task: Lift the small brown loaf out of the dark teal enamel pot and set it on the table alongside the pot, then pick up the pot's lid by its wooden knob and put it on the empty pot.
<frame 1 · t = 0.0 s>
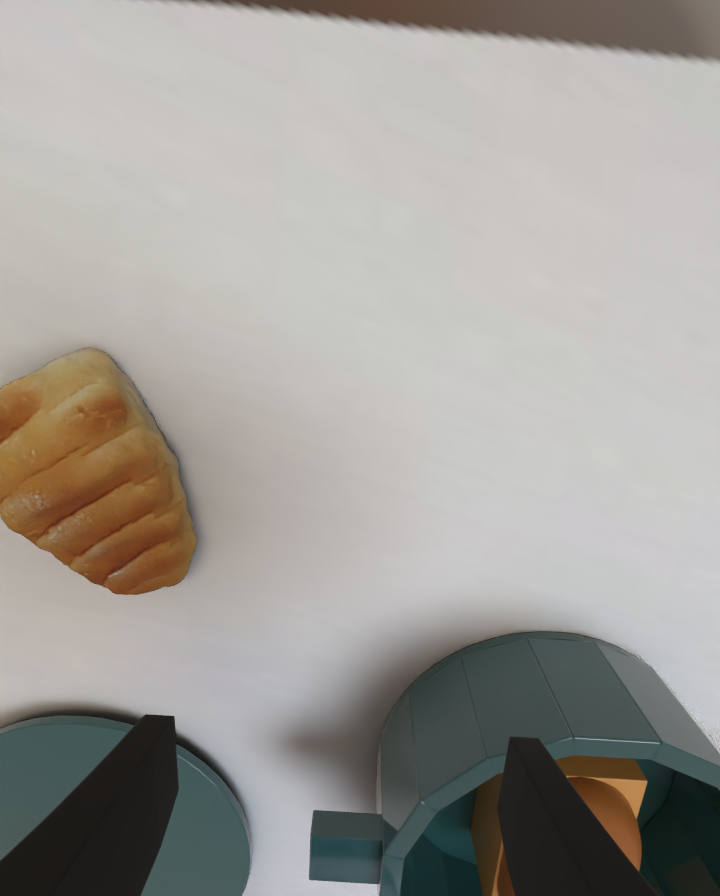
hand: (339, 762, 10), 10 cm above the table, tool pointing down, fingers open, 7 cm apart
lid: (98, 839, 24), point 1 cm above the table
pot: (530, 761, 23), on the table
bread: (533, 771, 23), resting on pot
pastry: (110, 458, 19), on the table
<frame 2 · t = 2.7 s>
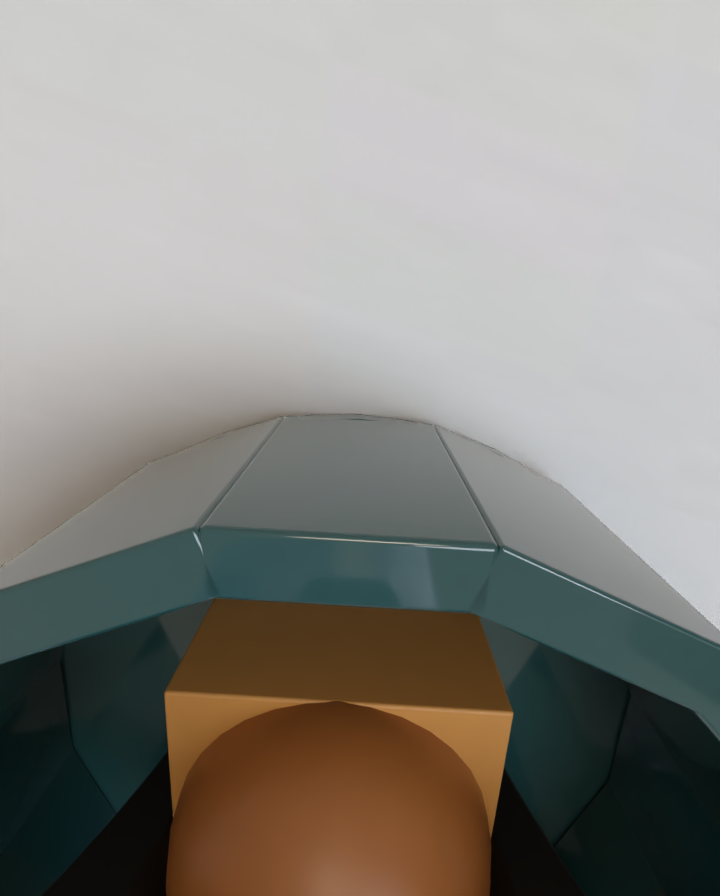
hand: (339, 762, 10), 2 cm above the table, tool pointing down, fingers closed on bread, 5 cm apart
pot: (343, 703, 12), on the table
bread: (340, 720, 11), point 1 cm above the table, touching gripper, pot
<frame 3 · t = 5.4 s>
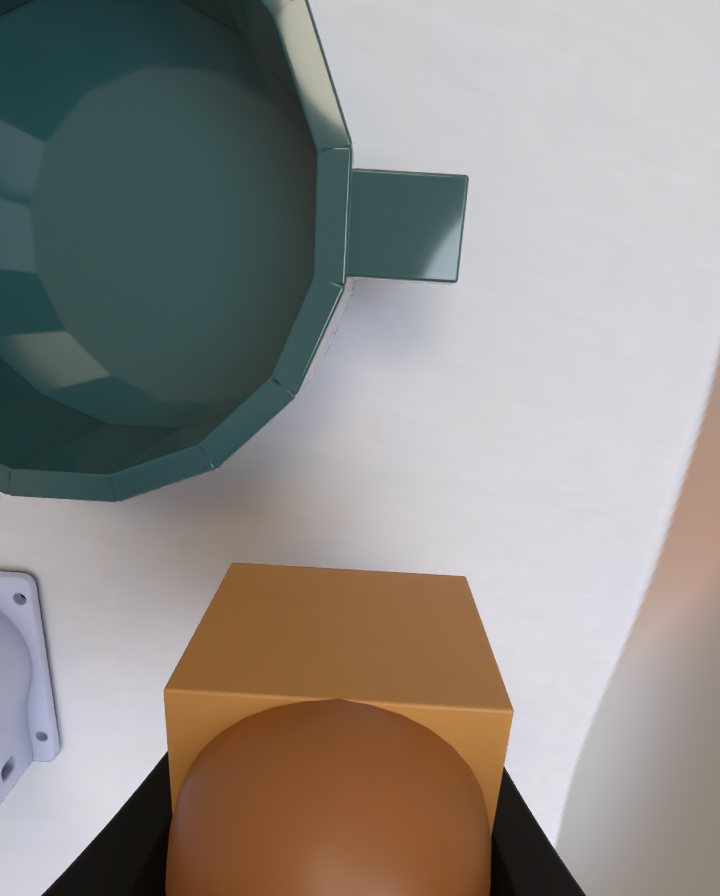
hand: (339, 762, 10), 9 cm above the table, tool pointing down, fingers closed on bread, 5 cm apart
pot: (138, 234, 16), on the table
bread: (340, 719, 11), point 8 cm above the table, touching gripper
when the fingers open (1 cm above the table, at t = 8.0 s): bread stays where it is, on the table.
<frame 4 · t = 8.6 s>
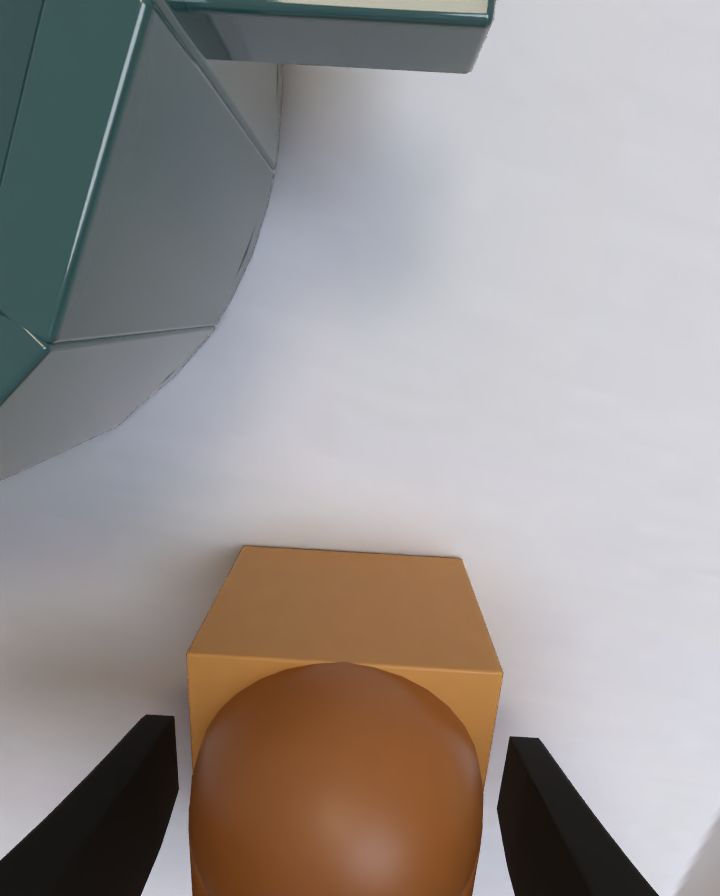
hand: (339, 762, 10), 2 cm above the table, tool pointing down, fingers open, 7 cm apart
bread: (344, 694, 12), on the table
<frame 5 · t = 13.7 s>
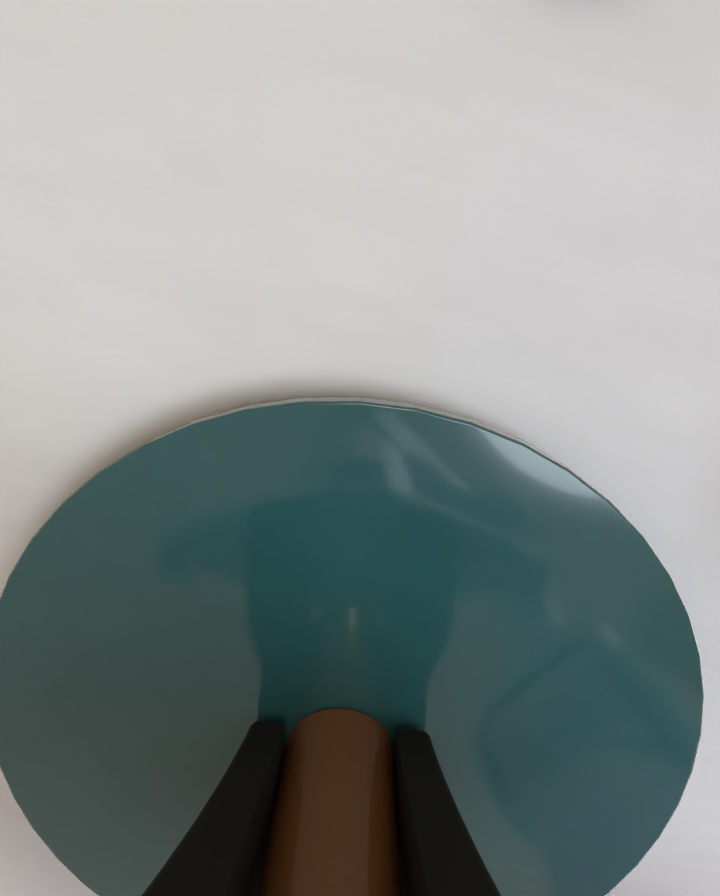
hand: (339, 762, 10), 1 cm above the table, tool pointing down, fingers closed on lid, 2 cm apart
lid: (340, 731, 11), point 1 cm above the table, touching gripper
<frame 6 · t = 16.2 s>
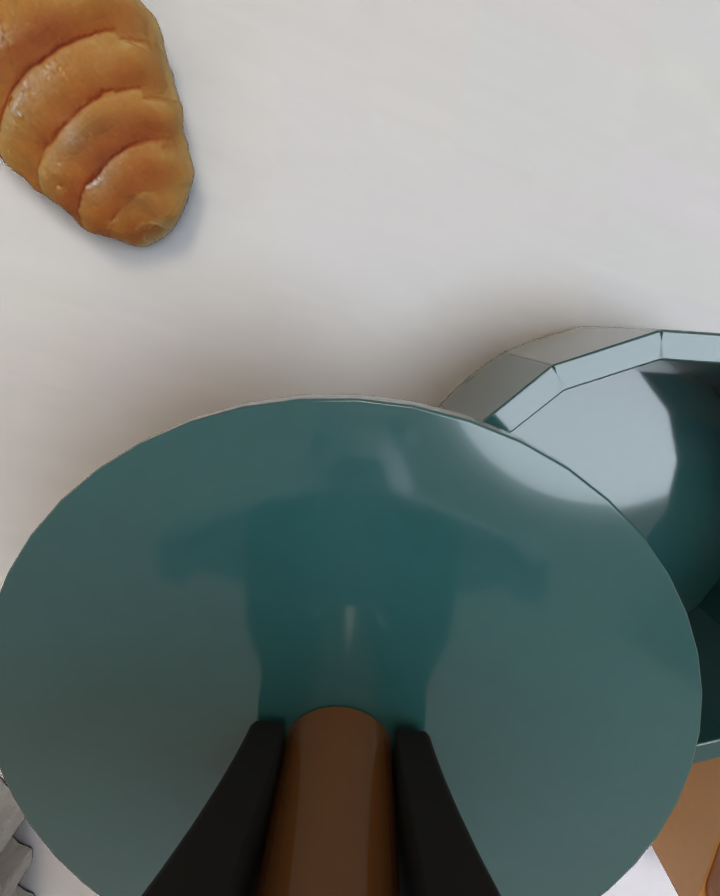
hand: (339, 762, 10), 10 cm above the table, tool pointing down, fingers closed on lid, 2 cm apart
lid: (339, 729, 11), point 10 cm above the table, touching gripper
pot: (577, 511, 20), on the table
bread: (714, 773, 23), on the table
pastry: (92, 87, 16), on the table
when the fingers open (6 cm above the table, at t = 18.5 s): lid stays where it is, resting on pot.
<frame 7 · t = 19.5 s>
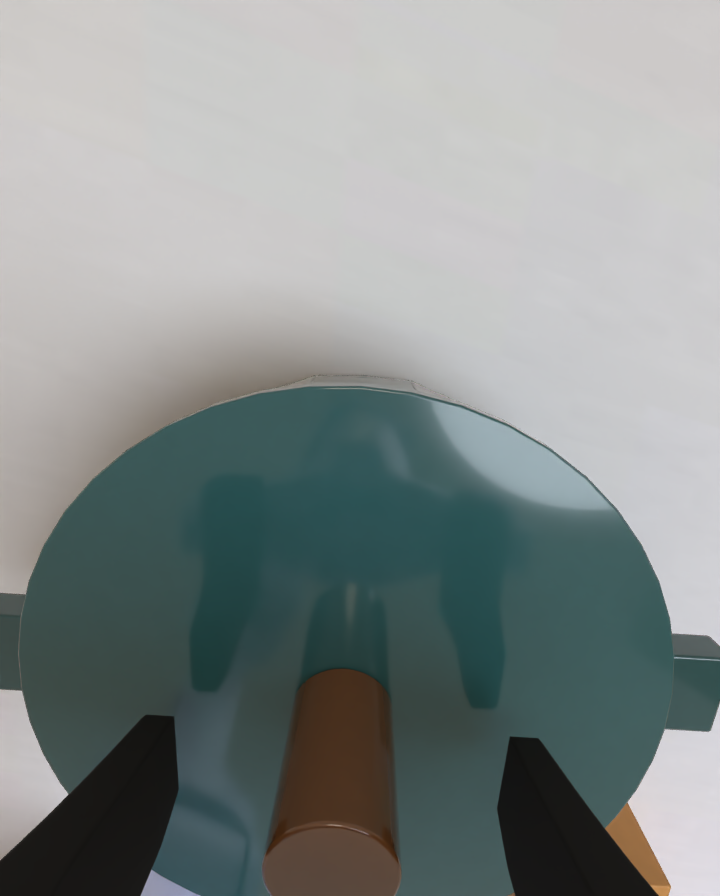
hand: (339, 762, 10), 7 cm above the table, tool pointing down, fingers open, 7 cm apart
lid: (343, 692, 12), point 5 cm above the table, touching pot
pot: (352, 577, 17), on the table
bread: (543, 852, 21), on the table
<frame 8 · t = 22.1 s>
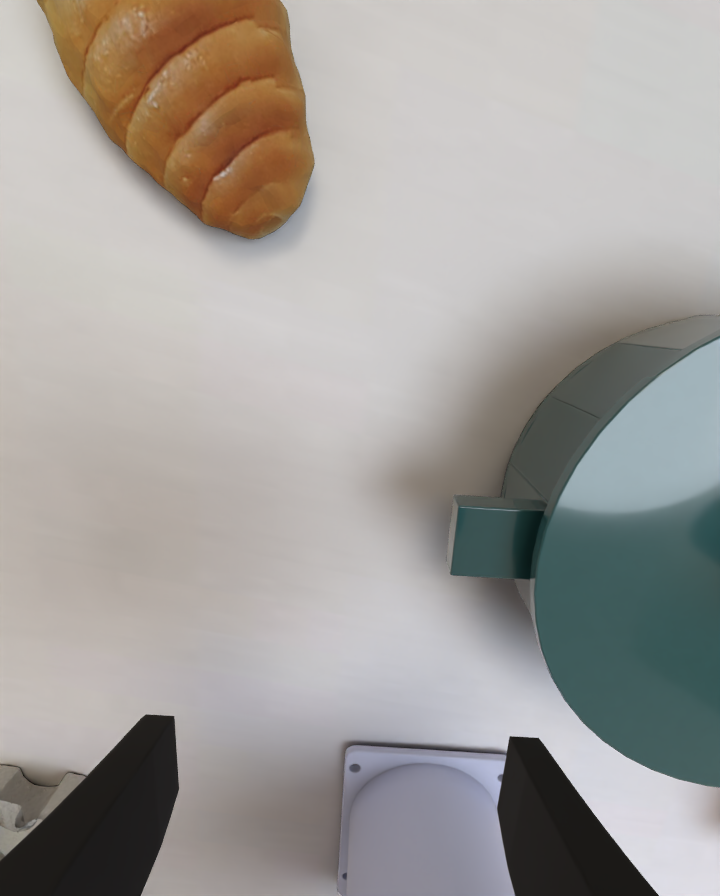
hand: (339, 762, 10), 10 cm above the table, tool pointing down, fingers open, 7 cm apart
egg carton: (55, 840, 26), on the table
pot: (680, 503, 20), on the table
pastry: (206, 78, 16), on the table
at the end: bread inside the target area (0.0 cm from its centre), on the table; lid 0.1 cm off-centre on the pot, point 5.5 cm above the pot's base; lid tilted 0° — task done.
